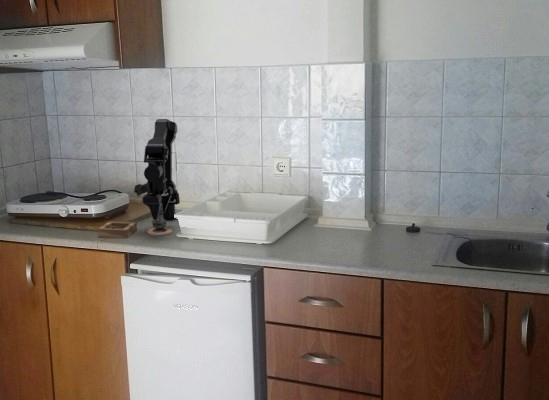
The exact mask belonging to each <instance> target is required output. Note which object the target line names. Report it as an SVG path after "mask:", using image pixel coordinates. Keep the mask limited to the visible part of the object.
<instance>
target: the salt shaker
mask: <svg viewBox="0 0 549 400" xmlns="http://www.w3.org/2000/svg"><path fill="white" fill-rule="evenodd" d="M163 212H164V211H163V207H162V204H161V207H160V210H159V214H158V217H157V220H151V224H152V227H153V228H155V229H154V230H153V232H165V231H167V230H166V229H165V228H166V226H167V223H168V220H164V218H163Z"/></svg>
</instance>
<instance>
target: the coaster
mask: <svg viewBox="0 0 549 400" xmlns="http://www.w3.org/2000/svg"><path fill="white" fill-rule="evenodd" d="M164 228H165V229H166V230H167V231H165V232H153V230H154V229H155V228H154V227H153V228H149V229H148V230H147V235H151V236H165V235H166V236H167V235H169V234H171V233H173V232H172V229H171V228H169V227H164Z"/></svg>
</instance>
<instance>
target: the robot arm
mask: <svg viewBox="0 0 549 400" xmlns="http://www.w3.org/2000/svg"><path fill="white" fill-rule="evenodd" d="M177 134H178V125H177V123H176V122H174V121H172V120H170V119H168V118H158V119H156V120H155V122H154V133H153V136H152V138H150V139H149V140H148V141H147V143H146V145H145V147H144V157H143V163H147V167H145V169H144V170H143V175H144V178H145V179H146V183H143V184H141V183H139V184H136V185H135V186H134V188H133V190H134V191H133V192H134V193H135V194H136V196H137V197H138V196H141V195H143V194H144V196H142V198H141V201H142V202H141V203H142V204H143V205H145V206H146V207H148V209H149V212H150V214H151V217H152V219H153V220H157V217H158V214H159V210H160V207H161V204H162V207H163V211H164V212H163V218H164V220H167V221H168V220H170V221H174V220H176V218H174V214H175V215H176V205H178V204H179V205H180V202H181V201H180V193H179V192H178V189H177V186H176V184H175V182H174V181H173V143H174V142H175V140H176V138H177ZM153 220H152V221H153Z"/></svg>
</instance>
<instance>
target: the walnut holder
mask: <svg viewBox="0 0 549 400" xmlns="http://www.w3.org/2000/svg"><path fill="white" fill-rule="evenodd" d="M137 224H138V223H137V222H131V221H130V222H129V221H107V222H106V223H105V224H103V225H102V226H100V227H99V228H97V229H96V230H97V237H98V238H110V239H111V238H112V239H113V238H115V239H128V237H130V236H131V235H132V234H134V233H135V232H137V229H138V226H137ZM111 226H113V227H114V229H112V228H111Z"/></svg>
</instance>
